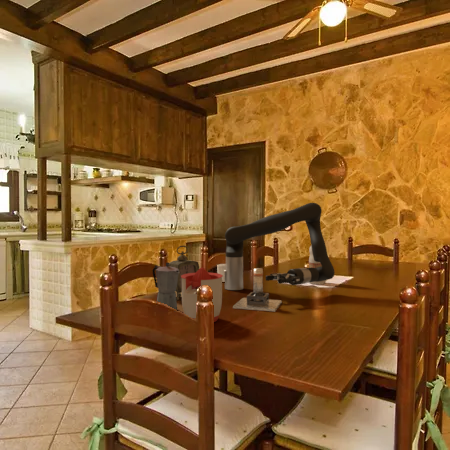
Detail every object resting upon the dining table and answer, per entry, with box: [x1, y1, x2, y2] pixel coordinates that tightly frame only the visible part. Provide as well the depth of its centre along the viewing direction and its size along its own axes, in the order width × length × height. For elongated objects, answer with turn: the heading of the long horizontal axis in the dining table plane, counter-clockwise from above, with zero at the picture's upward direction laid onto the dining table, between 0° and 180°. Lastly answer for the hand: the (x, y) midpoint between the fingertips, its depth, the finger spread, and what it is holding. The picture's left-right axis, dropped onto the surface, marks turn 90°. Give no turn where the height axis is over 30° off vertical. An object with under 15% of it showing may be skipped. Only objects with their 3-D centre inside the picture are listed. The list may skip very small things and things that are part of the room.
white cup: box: [216, 263, 226, 282], centre depth 214 cm, size 8×8×10 cm
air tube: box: [252, 267, 264, 302], centre depth 158 cm, size 4×4×15 cm
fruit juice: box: [308, 245, 327, 285], centre depth 208 cm, size 9×9×28 cm
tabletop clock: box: [168, 245, 200, 301], centre depth 173 cm, size 14×9×25 cm, turn 137°
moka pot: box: [151, 262, 179, 311], centre depth 151 cm, size 10×15×20 cm, turn 58°
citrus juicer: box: [181, 267, 223, 323], centre depth 135 cm, size 16×17×20 cm
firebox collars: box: [232, 291, 282, 313], centre depth 158 cm, size 18×16×5 cm
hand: (272, 279), depth 162 cm, fingers open, 8 cm apart
